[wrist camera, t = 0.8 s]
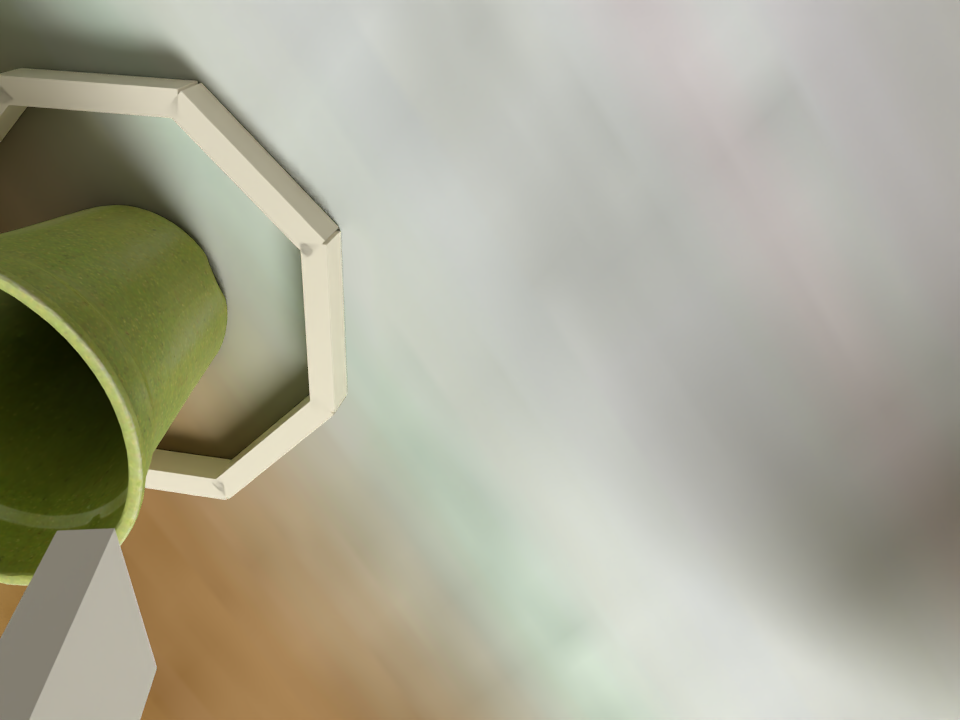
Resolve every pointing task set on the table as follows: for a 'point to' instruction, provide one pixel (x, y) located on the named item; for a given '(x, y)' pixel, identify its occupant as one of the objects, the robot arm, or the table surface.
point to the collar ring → (274, 196)
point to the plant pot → (93, 368)
